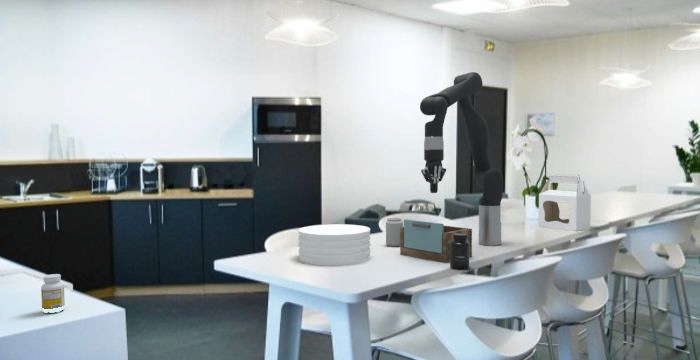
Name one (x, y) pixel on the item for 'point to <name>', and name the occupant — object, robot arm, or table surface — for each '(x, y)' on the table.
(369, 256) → the plate stack
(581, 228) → the gable box
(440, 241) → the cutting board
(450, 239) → the crate
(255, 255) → the table surface
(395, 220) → the can
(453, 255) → the supplement bottle
